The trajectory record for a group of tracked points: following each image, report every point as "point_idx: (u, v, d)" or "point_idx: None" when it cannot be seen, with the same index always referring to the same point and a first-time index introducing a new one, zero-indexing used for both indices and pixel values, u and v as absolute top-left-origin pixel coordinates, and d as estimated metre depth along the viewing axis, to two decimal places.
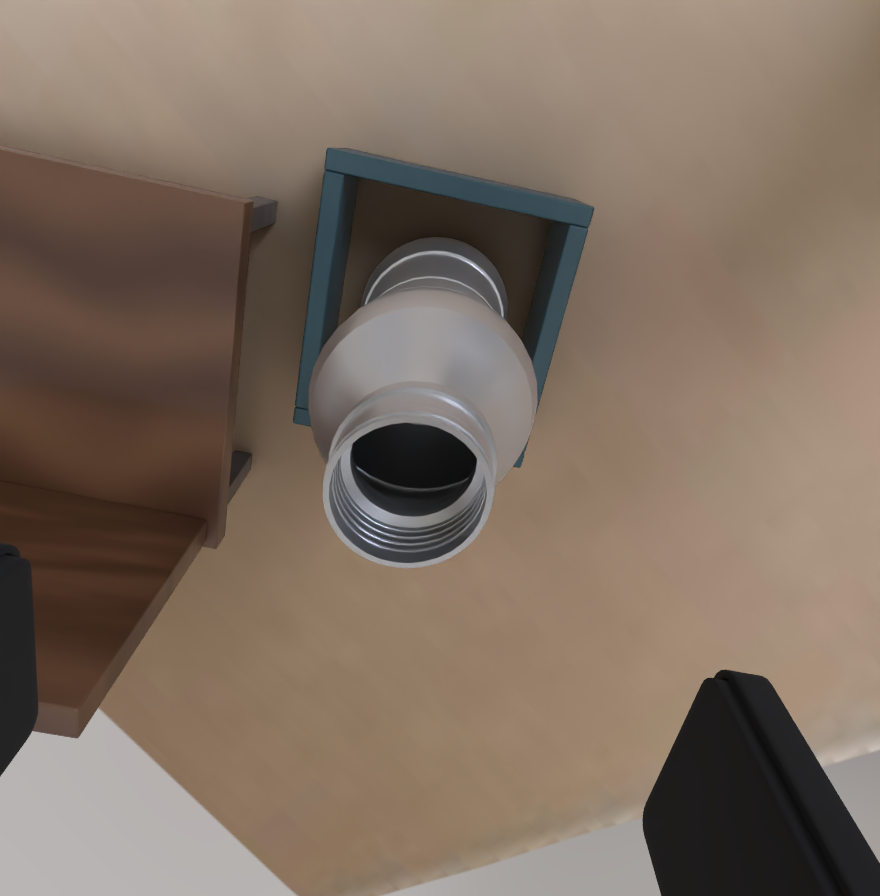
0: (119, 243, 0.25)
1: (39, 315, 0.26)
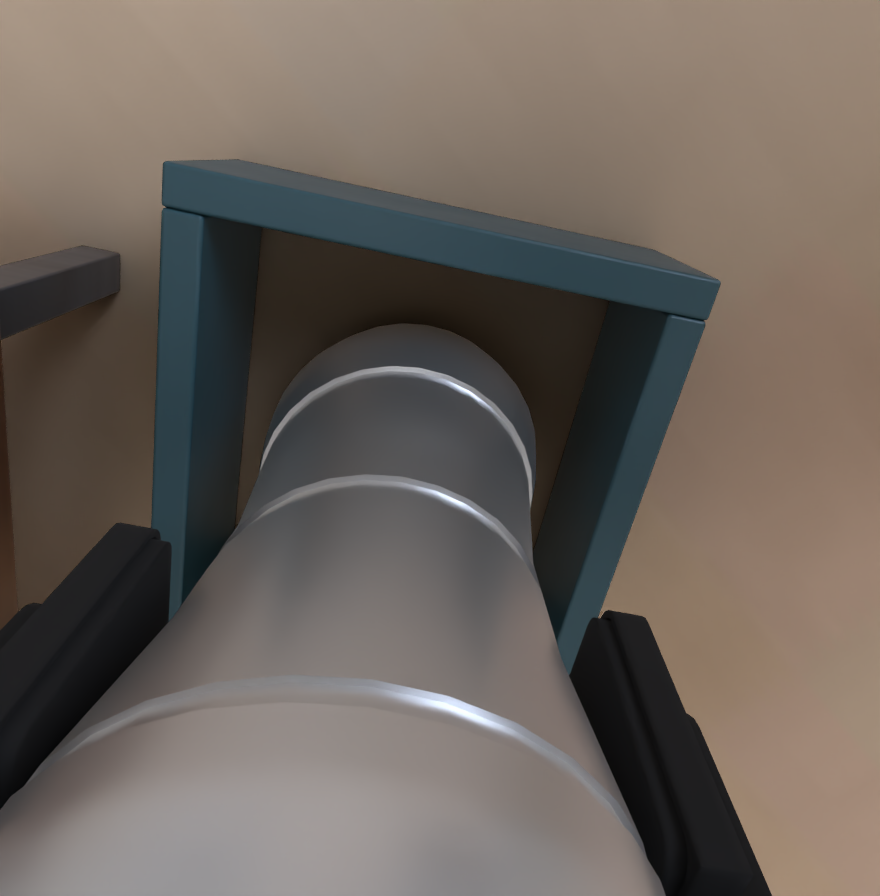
0: None
1: None
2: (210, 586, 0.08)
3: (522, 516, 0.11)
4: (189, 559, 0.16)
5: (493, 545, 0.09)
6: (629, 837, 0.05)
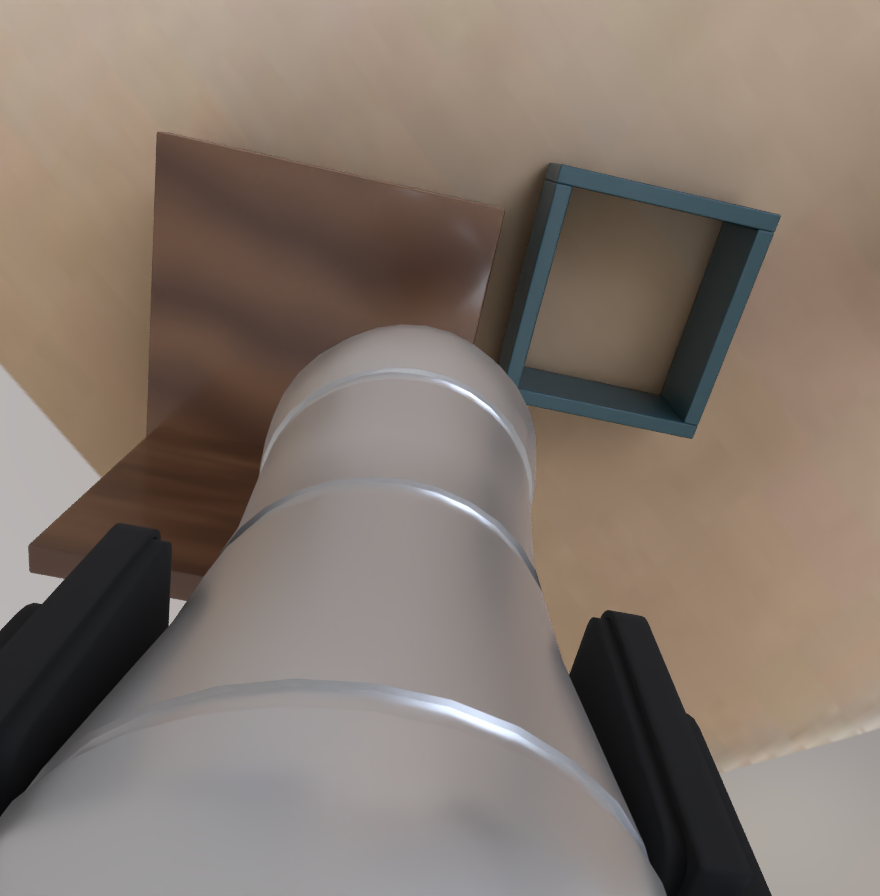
0: (394, 243, 0.30)
1: (315, 304, 0.31)
2: (211, 589, 0.08)
3: (523, 517, 0.11)
4: None
5: (494, 547, 0.09)
6: (632, 840, 0.05)
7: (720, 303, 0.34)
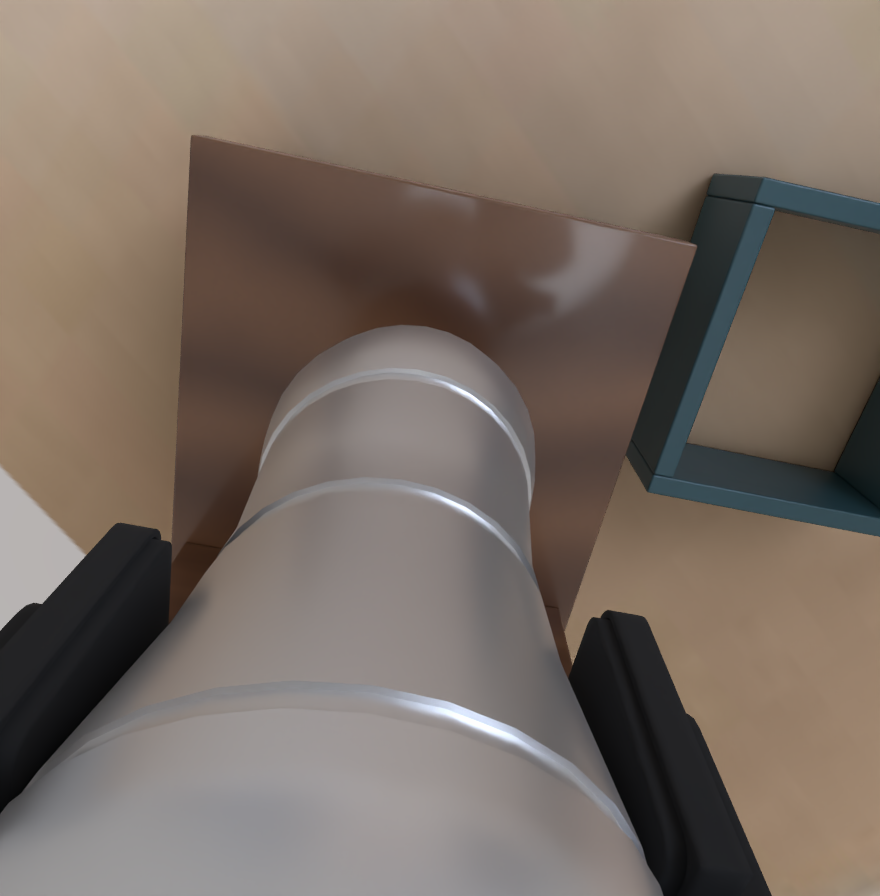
0: (532, 294, 0.20)
1: None
2: (209, 590, 0.08)
3: (521, 518, 0.11)
4: None
5: (492, 548, 0.09)
6: (628, 843, 0.05)
7: None
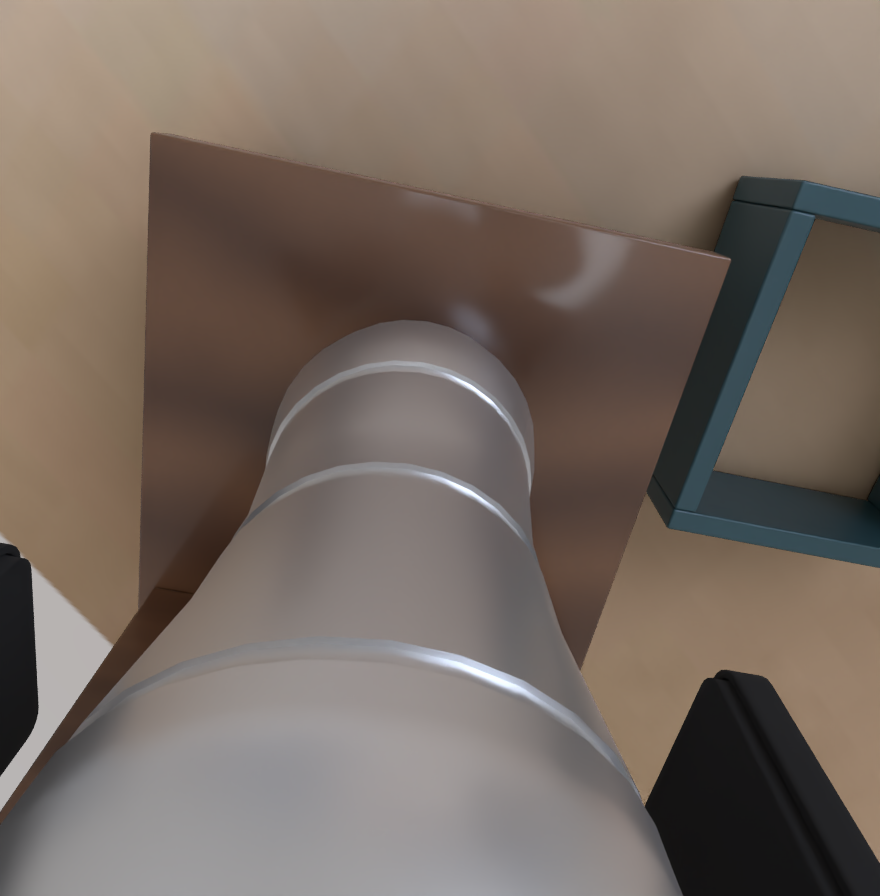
0: (542, 313, 0.18)
1: None
2: (230, 565, 0.08)
3: (522, 503, 0.12)
4: None
5: (496, 527, 0.09)
6: (627, 784, 0.06)
7: None
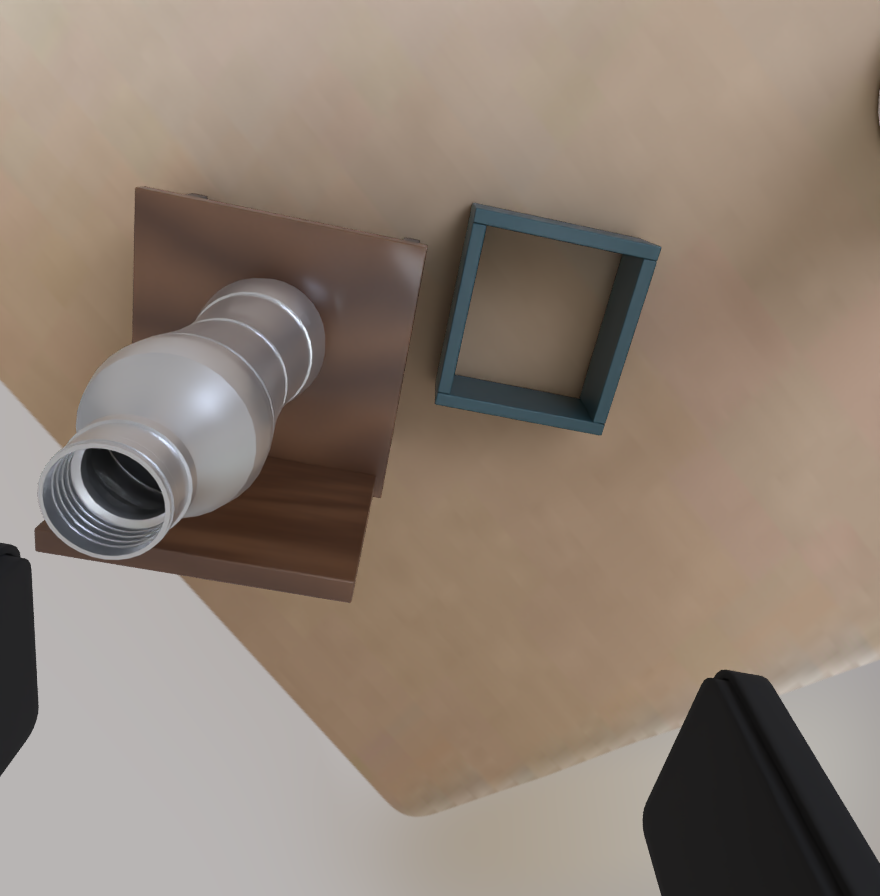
0: (336, 276, 0.35)
1: None
2: None
3: (286, 344, 0.29)
4: (457, 360, 0.40)
5: (254, 336, 0.27)
6: (251, 369, 0.23)
7: (618, 320, 0.40)
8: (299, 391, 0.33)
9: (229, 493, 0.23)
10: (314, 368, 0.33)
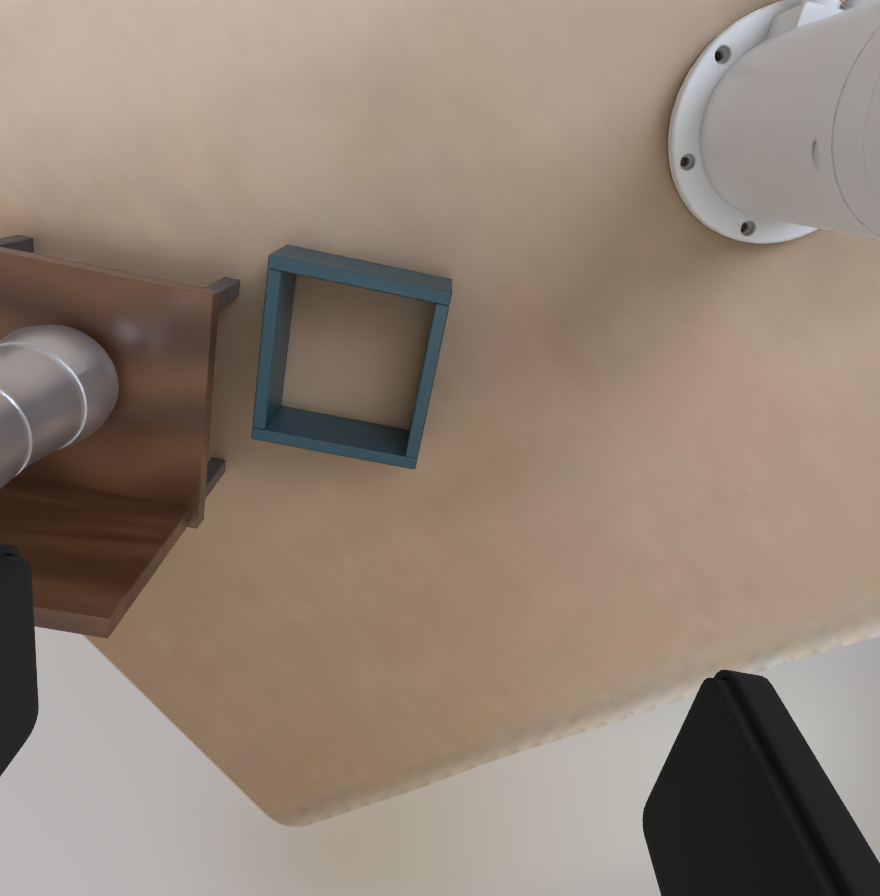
0: (129, 321, 0.37)
1: None
2: None
3: (37, 395, 0.31)
4: (269, 397, 0.42)
5: None
6: None
7: None
8: (79, 433, 0.35)
9: None
10: (94, 411, 0.35)
